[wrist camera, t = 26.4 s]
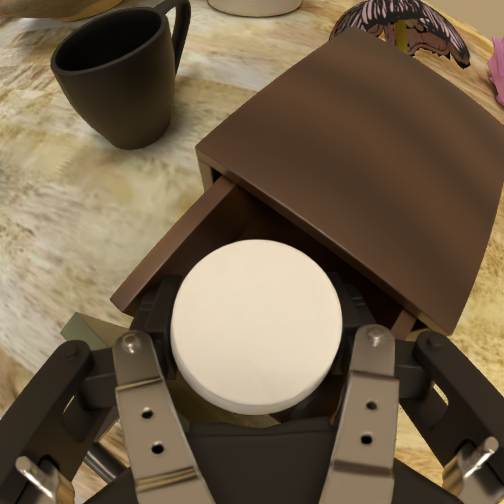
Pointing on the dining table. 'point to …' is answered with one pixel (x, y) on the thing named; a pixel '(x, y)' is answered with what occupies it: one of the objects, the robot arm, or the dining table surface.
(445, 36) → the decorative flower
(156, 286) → the drawer
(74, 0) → the bowl
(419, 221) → the cabinet
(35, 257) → the dining table surface
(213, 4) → the cylinder vase
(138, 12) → the mug
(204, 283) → the supplement bottle
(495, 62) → the teapot
